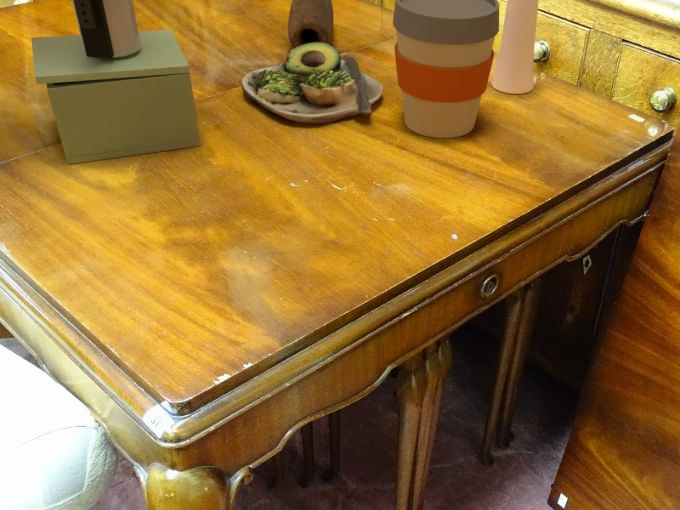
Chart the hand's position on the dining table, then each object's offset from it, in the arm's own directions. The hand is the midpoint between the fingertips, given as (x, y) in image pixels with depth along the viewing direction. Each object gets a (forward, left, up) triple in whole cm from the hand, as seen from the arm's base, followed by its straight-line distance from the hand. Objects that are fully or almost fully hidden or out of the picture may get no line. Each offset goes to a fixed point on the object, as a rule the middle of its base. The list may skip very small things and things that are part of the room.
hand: (111, 44), depth 85 cm
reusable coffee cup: (+37, +8, -11) cm, 39 cm away
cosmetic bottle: (+47, +21, -11) cm, 53 cm away
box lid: (0, 0, -2) cm, 2 cm away
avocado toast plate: (+20, +14, -11) cm, 27 cm away
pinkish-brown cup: (0, 0, 0) cm, 0 cm away
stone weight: (+17, +33, -11) cm, 39 cm away
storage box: (0, 0, -11) cm, 11 cm away
